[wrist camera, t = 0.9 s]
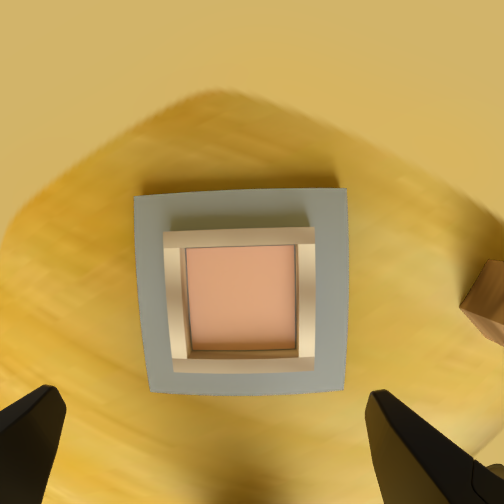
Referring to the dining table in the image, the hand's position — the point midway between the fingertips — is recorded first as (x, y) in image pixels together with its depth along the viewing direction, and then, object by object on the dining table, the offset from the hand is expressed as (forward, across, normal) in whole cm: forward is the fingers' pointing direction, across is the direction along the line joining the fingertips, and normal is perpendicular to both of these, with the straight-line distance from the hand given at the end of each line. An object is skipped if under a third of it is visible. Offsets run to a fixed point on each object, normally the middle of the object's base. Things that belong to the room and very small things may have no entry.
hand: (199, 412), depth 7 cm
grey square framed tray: (+14, 0, +4) cm, 14 cm away
